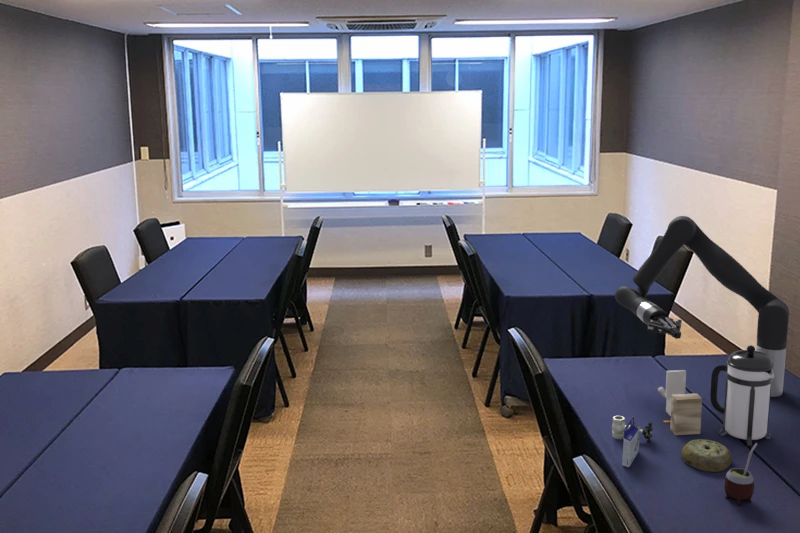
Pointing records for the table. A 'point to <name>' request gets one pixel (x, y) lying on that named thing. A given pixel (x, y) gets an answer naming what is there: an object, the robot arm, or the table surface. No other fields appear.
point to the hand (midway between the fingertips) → (678, 336)
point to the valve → (620, 425)
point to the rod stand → (684, 413)
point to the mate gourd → (740, 483)
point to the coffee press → (745, 394)
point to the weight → (706, 455)
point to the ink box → (630, 442)
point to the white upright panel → (674, 386)
